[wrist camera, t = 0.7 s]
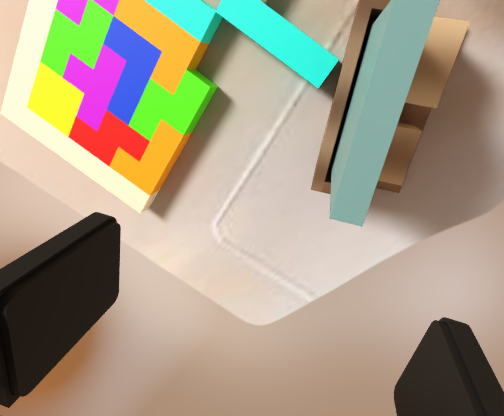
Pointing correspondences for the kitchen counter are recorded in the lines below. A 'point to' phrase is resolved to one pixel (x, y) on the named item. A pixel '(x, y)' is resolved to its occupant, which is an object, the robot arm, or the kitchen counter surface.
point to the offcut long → (436, 61)
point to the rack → (365, 16)
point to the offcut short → (400, 153)
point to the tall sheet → (376, 104)
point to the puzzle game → (132, 80)
